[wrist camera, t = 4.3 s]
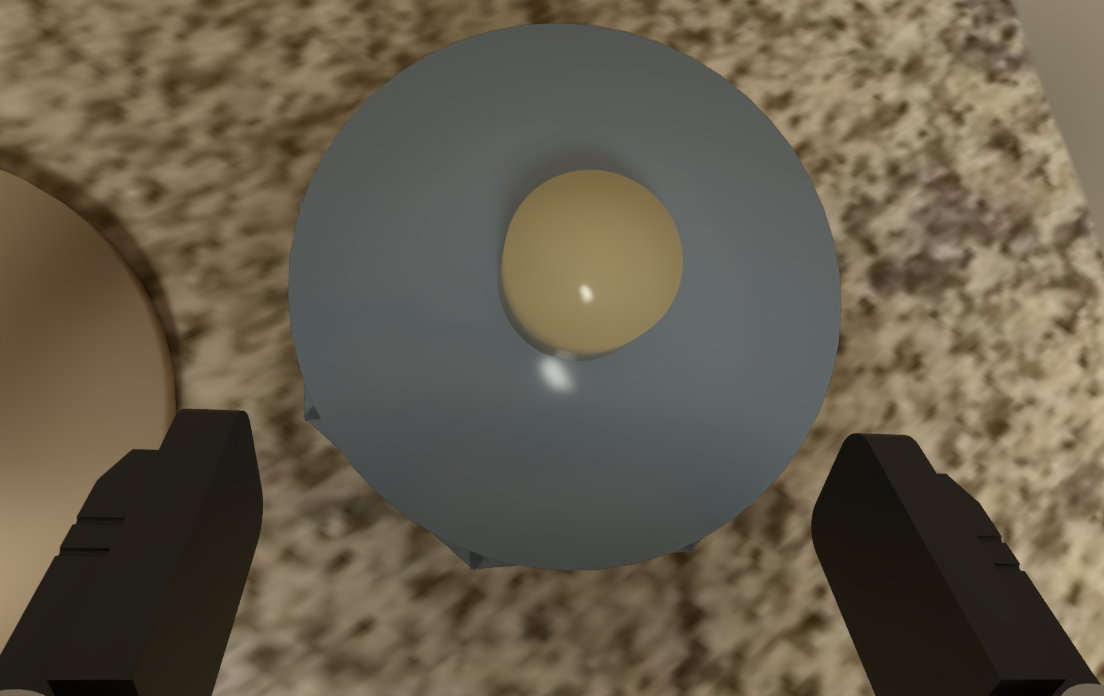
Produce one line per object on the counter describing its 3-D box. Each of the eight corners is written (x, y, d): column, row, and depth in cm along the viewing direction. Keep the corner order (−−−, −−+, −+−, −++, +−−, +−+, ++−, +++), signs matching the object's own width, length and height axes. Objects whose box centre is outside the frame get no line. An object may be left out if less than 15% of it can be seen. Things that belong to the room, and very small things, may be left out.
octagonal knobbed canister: (321, 384, 18) (107, 270, 7) (504, 193, 19) (565, -157, 8) (524, 567, 18) (628, 741, 7) (695, 365, 19) (1014, 244, 8)
